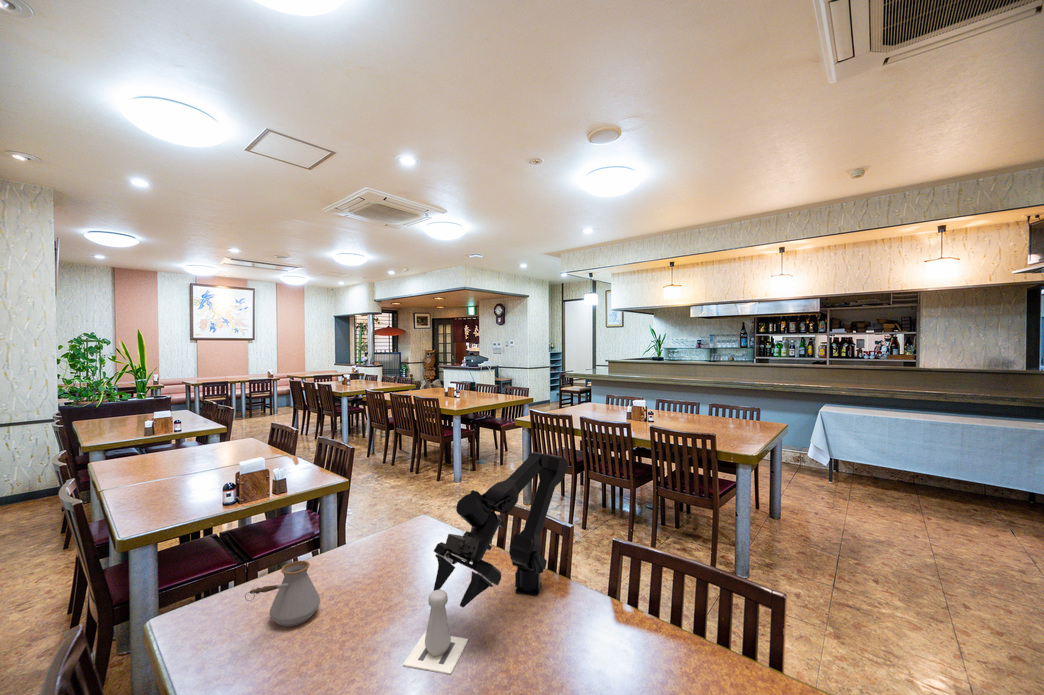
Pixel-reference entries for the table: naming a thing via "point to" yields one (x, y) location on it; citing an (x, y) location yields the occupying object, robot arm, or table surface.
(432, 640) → the salt shaker
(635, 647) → the table surface
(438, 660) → the letter card
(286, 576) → the coffee pot
